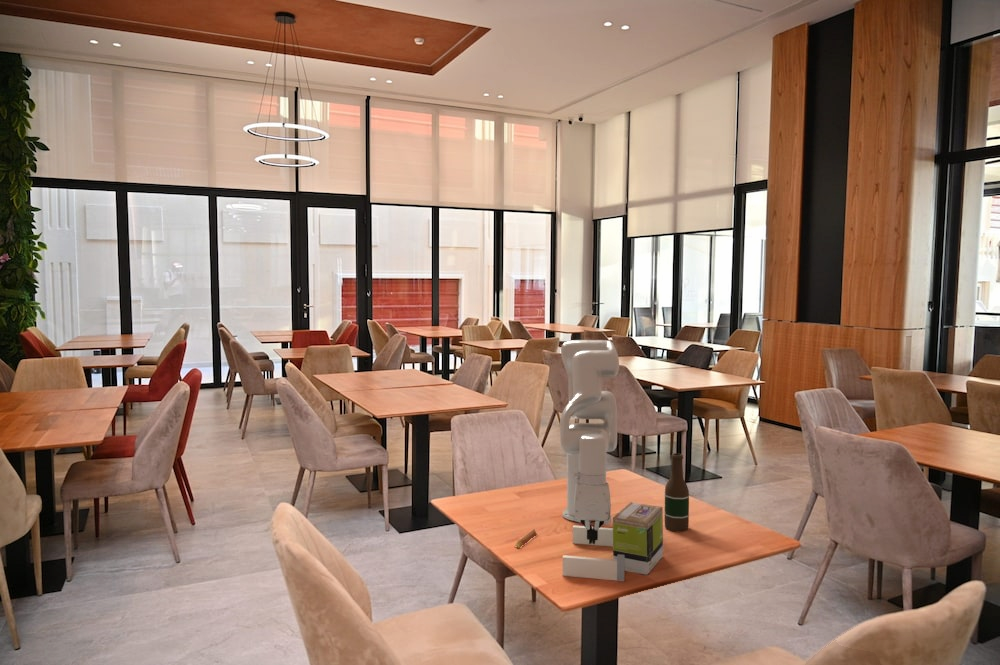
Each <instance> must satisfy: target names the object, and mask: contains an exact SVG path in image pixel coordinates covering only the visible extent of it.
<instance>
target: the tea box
mask: <svg viewBox="0 0 1000 665" xmlns="http://www.w3.org/2000/svg"><path fill="white" fill-rule="evenodd" d="M663 513H664V511H663V506H658V505H652V504H642V503H638V502H629V503H628V504H627V505H626V506H625V507H623V508H622V509H621V510H620V511H619V512H618V513H616V514H615V515H614V516H613V517H612V528H613V546H612V552H613V554H612V555H613V556H612V559H615V560H617V555H618V554H620V555H624V572H631V573H634V574H639V575H644V576H647V575H648V574H650V572H651V571H652V570H653V568H654V567H655V566H656V565H657V564H658V563H659V561H660V560H661V559H662V557H664V522H663V521H664V517H663Z"/></svg>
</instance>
